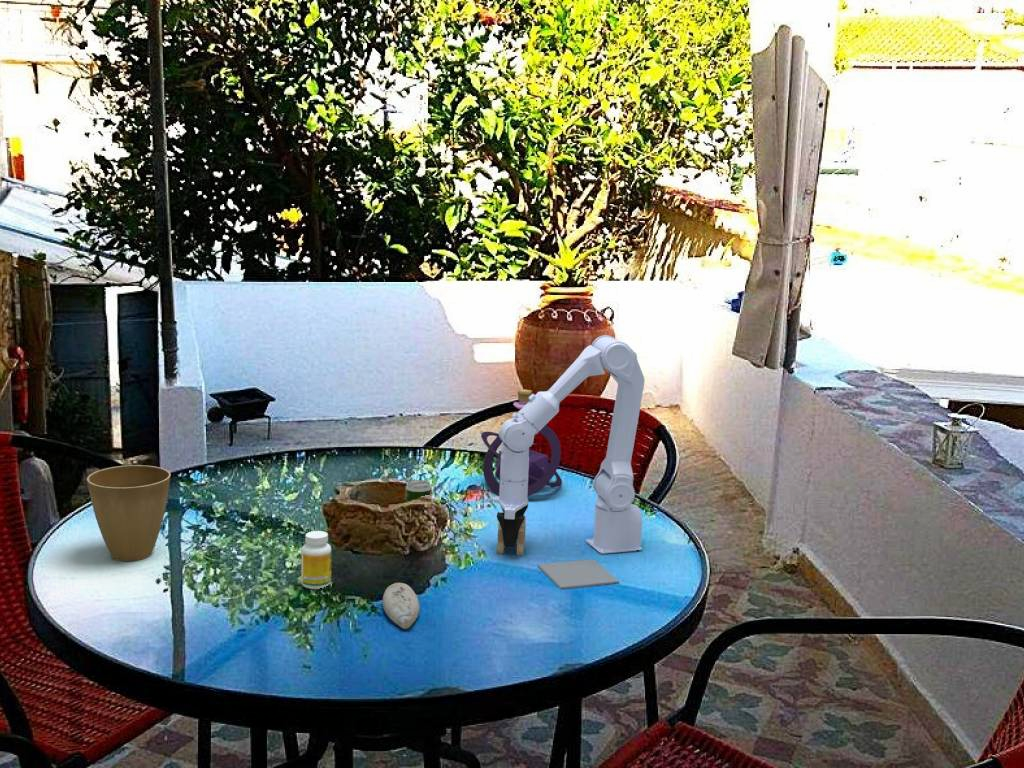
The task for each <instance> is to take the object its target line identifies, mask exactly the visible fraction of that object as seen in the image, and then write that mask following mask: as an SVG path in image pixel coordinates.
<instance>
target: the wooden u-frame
mask: <svg viewBox="0 0 1024 768" xmlns="http://www.w3.org/2000/svg"><path fill="white" fill-rule="evenodd" d="M526 525H527V517H525V519H524V521H523V523H522V524H521V526H520V529H519V533H518V538H517V543H516V555H517V556H523V555H524V549H525V546H526V531H527V529H526V527H527V526H526ZM496 544H497V547H496V550H497V552H496V553H497V554H502V555H503V554H504V550H505V549H504V548H506V547H505V546H504V541H503V534H502V529H501V526H500V523H499V522H498V525H497V543H496Z"/></svg>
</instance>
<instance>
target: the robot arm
mask: <svg viewBox="0 0 1024 768" xmlns="http://www.w3.org/2000/svg"><path fill="white" fill-rule="evenodd" d="M604 370H606V371H607V372H608V374H610V376H611V377H612V378H613V380H614V381H615V382H616V383H617V389H616V395H615V399H614V400H615V402H614V406H613V411H612V418H611V419H612V420H611V424H610V431H609V436H608V442H607V449H606V455H605V458H604V460H602V462H601V463H600V468H599V471H598V473H597V474H596V475H595V477H594V479H593V484H592V485H593V490H594V492H595V493H596V495H597V497H596V498H597V499H596V501H595V506H594V507H595V509H594V523H593V526H594V527H593V528H594V529H593V538H587V539H585V543H587V544H588V545H589V546H591V547H592V548H593V549H595V550H596V551H597V552H598V553H599V554H601V555H603V554H605V555H606V554H617V553H626V552H627V553H628V552H637V551H636V550H639V551H642V550H643V547H642V546H641V541H642V528H643V525H642V524H643V517H642V516H643V515H642V512H641V509H640V508H639V506H638V505H637V504H633V502H634V499H635V496H636V495H635V493H636V491H635V488H634V486H633V485H634V473H633V468H632V458H633V457H632V456H633V452H634V446H635V440H636V433H637V428H638V424H639V423H638V422H639V416H640V409H641V406H642V405H641V404H642V399H643V393H644V387H645V376H644V373H643V371H642V369H641V366H640V363H639V361H638V355H637V353H636V352H635V350H633V349H632V347H630V345H628V343H626V342H625V341H622V340H621V341H620V340H619V339H616V338H615V337H613V336H611V335H609V334H608V335H605V334H604V335H600V336H598V337H597V338H595V339H594V340H593V341H592V344H589V345H588V346H587V347H585V348H584V349H583V350H582V352H581V353H580V355H579V356H578V357H577V358H576V359H575V360H574V362H572V364H571V365H569V367H568V368H567V369H566V370H565V371H564V372H563V374H562V375H561V376H560V377H559V378H558V379H557V380H556V382H555V383H554V384H553V385H552V386H551V387H550V388H549V389H548V390H546V391H538V392H537V393H536V394H534V393H532V394H531V396H530V397H529V399H530V401H529V402H528V403H527V404H526V405H525V406H524V407H523V408H522V409H519V412H520V413H521V414H522V415H523V416H522V415H521V414H520V413H519V412H518V411H514V412H515V413H514V412H513V413H514V414H513V413H512V415H511V416H512V418H511V419H510V418H509V419H506V420H505V421H504V422H503V423H502V424H501V426H500V429H499V430H498V434H499V437H500V439H501V440H502V443H501V451H502V455H501V466H500V480H499V483H500V492H499V496H494V497H493V498H492V499H493V500H492V502H493V503H498V505H500V508H501V510H502V512H499V511H497V514H496V519H497V521H498V523H500V526H501V529H502V534H503V541H504V546H505V547H504V548H508V549H515V548H516V547H517V538H518V533H519V529H520V526H521V524H522V523H523V521H524V519H525V518H526V515H525V513H526V511H527V509H528V508H529V499H528V497H527V495H528V471H529V449H530V448H531V447H532V445H533V444H534V441H535V440H534V439H535V435H538V433H539V432H538V431H540V430H541V429H542V428H543V427H544V426H545V425H546V426H547V424H548V423H549V422H550V421H552V419H553V418H554V417H555V416H556V415H557V414H558V413H559V412H560V403H562V401H563V400H565V398H567V396H569V394H570V393H572V392H573V391H574V390H576V388H577V387H578V386H579V385H581V383H582V382H584V381H585V380H586V379H587V378H588V377H593V376H601V375H605V374H606V372H605V371H604ZM516 412H518V413H516ZM535 428H536V429H537V430H538V431H537V430H536V429H535Z"/></svg>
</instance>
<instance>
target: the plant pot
mask: <svg viewBox="0 0 1024 768" xmlns="http://www.w3.org/2000/svg"><path fill="white" fill-rule="evenodd" d="M171 475H172V474H171V472H170V471H169V470H168V469H165V468H162V467H159V466H153V465H143V464H134V465H133V464H132V465H130V464H129V465H119V466H111V467H106V468H102V469H100V470H96V471H94V472H92V473H90V474H89V475H88V476H87V477H86V482H87V488H88V491H89V497H90V502H91V505H92V508H93V509H92V510H93V513H94V516H95V520H96V522H97V526H98V528H99V530H100V534H101V536H102V539H103V542H104V543H105V545H106V546H105V547H106V548H107V550H108V552H109V554H110V557H111V558H112V559H114V560H116V561H119V562H135V561H140V560H143V559H146V558H148V557H150V556H151V555H152V554H153V551H154V549H155V546H156V543H157V541H158V537H159V536H160V535H159V534H160V531H161V528H162V524H163V521H164V516H165V512H166V507H167V503H168V496H169V490H170V482H171Z"/></svg>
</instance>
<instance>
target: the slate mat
mask: <svg viewBox="0 0 1024 768" xmlns="http://www.w3.org/2000/svg"><path fill="white" fill-rule="evenodd" d="M537 567H538V568H539V569H540V570H541V571H542V572H543V573H544V574H545V575H546V576H547V577H548V579H550V580H551V581H552V582H553V583H554V584H555V586H557V587H558V588H559V589H560V590H565V589H577V588H586V587H597V586H607V585H606V584H608V585H615V584H614V583H618V584H620V580H618V579H617V578H616V577H615V576H614V575H613V574H612V573H611V572H609V571H608V570H607V569H606V568H604V567H603V566H602V565H601V564H600V563H598V561H596V560H595V559H584V560H583V559H582V560H571V561H562V562H550V563H537Z"/></svg>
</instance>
